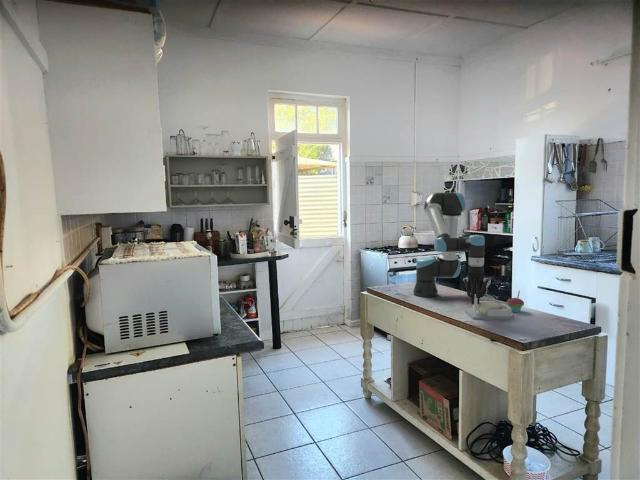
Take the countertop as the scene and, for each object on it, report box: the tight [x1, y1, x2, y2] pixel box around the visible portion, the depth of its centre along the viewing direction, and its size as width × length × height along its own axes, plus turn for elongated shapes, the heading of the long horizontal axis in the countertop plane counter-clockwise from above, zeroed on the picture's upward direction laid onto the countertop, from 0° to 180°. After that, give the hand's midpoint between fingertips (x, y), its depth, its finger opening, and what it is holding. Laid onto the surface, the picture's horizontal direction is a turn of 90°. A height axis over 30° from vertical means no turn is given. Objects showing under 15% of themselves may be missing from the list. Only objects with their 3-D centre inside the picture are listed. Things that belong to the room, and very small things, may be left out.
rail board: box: [464, 302, 515, 321], centre depth 216 cm, size 14×20×5 cm
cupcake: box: [506, 289, 525, 313], centre depth 223 cm, size 9×8×12 cm
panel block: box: [477, 300, 500, 315], centre depth 215 cm, size 5×9×6 cm, turn 86°
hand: (474, 310), depth 216 cm, fingers closed
